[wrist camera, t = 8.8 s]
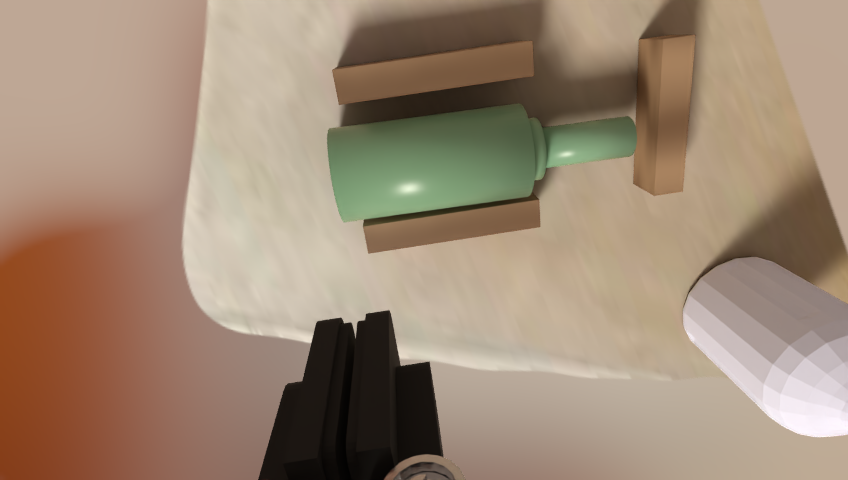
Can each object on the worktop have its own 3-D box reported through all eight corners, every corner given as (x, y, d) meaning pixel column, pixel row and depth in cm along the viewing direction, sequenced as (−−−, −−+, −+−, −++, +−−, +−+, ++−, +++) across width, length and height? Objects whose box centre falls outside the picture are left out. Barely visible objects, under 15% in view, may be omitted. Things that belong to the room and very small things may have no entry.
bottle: (323, 146, 27) (656, 101, 27) (331, 117, 32) (611, 80, 33) (344, 239, 30) (644, 197, 30) (348, 199, 35) (604, 163, 35)
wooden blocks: (336, 67, 31) (332, 70, 28) (669, 18, 32) (696, 16, 29) (369, 237, 36) (368, 253, 33) (658, 192, 36) (681, 204, 33)
